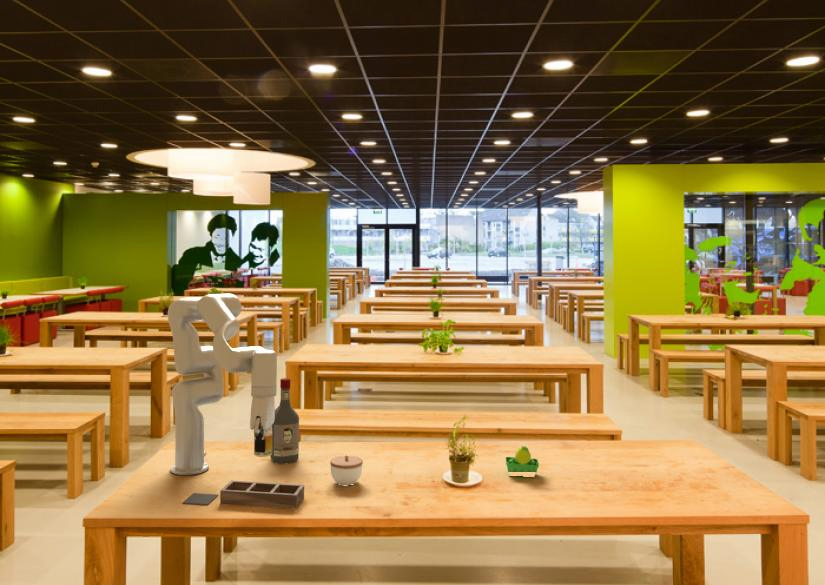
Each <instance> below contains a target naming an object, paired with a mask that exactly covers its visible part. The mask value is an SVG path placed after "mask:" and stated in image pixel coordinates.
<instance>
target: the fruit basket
mask: <svg viewBox="0 0 825 585" xmlns="http://www.w3.org/2000/svg"><path fill="white" fill-rule="evenodd" d="M514 456H515V457H513V456H505V457H504V458H505V465H506V468H507V473H508V472H536V473H537V472H538V468H539V467H540V463H539V460H538V459H537V458H532V456H531V452H530V450H529V448H528V447H527V446H525V445H523V446H521V447H519V448H518V449H517V450H516V452H515V455H514Z"/></svg>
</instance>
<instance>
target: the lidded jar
mask: <svg viewBox="0 0 825 585" xmlns="http://www.w3.org/2000/svg"><path fill="white" fill-rule="evenodd" d="M363 463H364V462H363V459H362V458H360V457H359V456H354V455H348V454H345V455H339V456H335V457H333V458H331V459H330V464H329V465H330V473H331V474H330V475H331V477H332V479H333V481H334V482H335V483H336V484H337V483H338V484H340V485H351V484H354V483H355V484H356V483H357V482H359V479H360V478H361V476H362V472H363ZM338 484H337V485H338ZM355 484H354V485H355ZM340 485H339V486H340Z"/></svg>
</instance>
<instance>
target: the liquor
mask: <svg viewBox="0 0 825 585" xmlns="http://www.w3.org/2000/svg"><path fill="white" fill-rule="evenodd" d="M279 384H280V401H279V405H278V406H277V407H276V408H275V419H274V423H273V424H272V454H271V455H270V456H269V457H270V459H271V461H272V460H273V461H272V462H273V463H274V464H275V463H277V465H285V463H288V464H294V463H295V461H296V462H298V460H299V458H300V457H299V455H300V454H299V451H300V450H299V449H300V448H299V447H300V437H299V435H300V417H299V415H298V413H297V412H296V410H295V409H294V408H293V407H292V405H291V404H292V403H291V398H290V397H291V395H290V394H291V378H284V377H283V378H280V383H279ZM293 462H294V463H293Z"/></svg>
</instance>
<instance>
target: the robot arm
mask: <svg viewBox="0 0 825 585" xmlns="http://www.w3.org/2000/svg"><path fill="white" fill-rule="evenodd" d="M241 313H242V302H241V301H240V299H239V297H238V296H237V295H235V294H233V293H211V294H206V295H204V296H199V297H198V296H194V297H193V296H192V297H183V298H182V297H181V298H177V299H175V300H174V301H172V302H171V303H170V305H169V306H168V310H167V322H168V325H169V328H170V331H171V335H172V343H173V344H172V346H173V358H174V366H175V367H174V368H175V372H176V373H177V375H180V376H193V375H194V376H195V375H200V374H202V375H203V377H197V378H195V377H194V378H188V379H183V380H180V381H178V382H177V383H176V384H174V386H173V387H172V390H171V395H172V401H173V406H174V420H175V421H174V428H175V429H174V430H175V431H174V432H175V434H174V436H175V438H174V439H175V440H174V442H175V443H174V447H175V448H174V452H175V453H174V455H175V456H174V461H175V462H174V464H172V465H171V466H170V473H173V474H174V475H179V476H191V475H198V474H202V473H205V472H207V471H208V469H209V463H207V462H206V461H205V457H206V456H207V452H206V451H205V417H204V415H203V414H202V412H201V411H200V409H199V407H201V406H204V405H209V404H210V405H211V404H215V403H218V402H219V401H221V400H222V398H223V395H224V390H225V389H224V375H223V370H224V371H226V372H228V373H230V374H237V373H245V372H251V376H250V377H251V379H250V380H251V383H250V385H251V386H250V387H251V388H250V390H251V391H250V396H251V398H252V399H251V405H250V419H249V420H250V421H249V428H250V430H252V431H253V434H254V435H255V437H254V435H253V440H254V439H255V452H258V453H264V452H265V446H266V439H264V438H265V430H266V429H267V428H269V427H270V428H269V429H270V430H271V431H272V424H273V423H274V419H275V410H276V408H275V407H276V406H275V405H276V404H275V402H276V401H275V397H276V396H277V383H278V381H277V380H278V378H277V375H278V372H277V370H278V362H277V361H278V355H277V352H276V351H275V350H272V349H266V348H264V347H263V346H259V345H257V346H256V345H254V346H243V347H233V348H232V347H231V345H229V343H228V341H230V340H231V339H232V338H234V337H235V335H237V334H238V332H239V330H240V322H239V320H238V319H237V318H238V317H239V316H240V314H241ZM202 322H205V324H206V325H207V327H208V328H209V330H210V331H211V332H212V334H213V335H214V337H213V339H212V345H204V346H203V345H202V346H201V344H200V337H199V335H200V334H199V332H198V331H197V329H196V327H195V326H194V325H193V324H192V323H202ZM260 427H263V428H262V429H259V428H260ZM260 431H262V434H261V432H260Z"/></svg>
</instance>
